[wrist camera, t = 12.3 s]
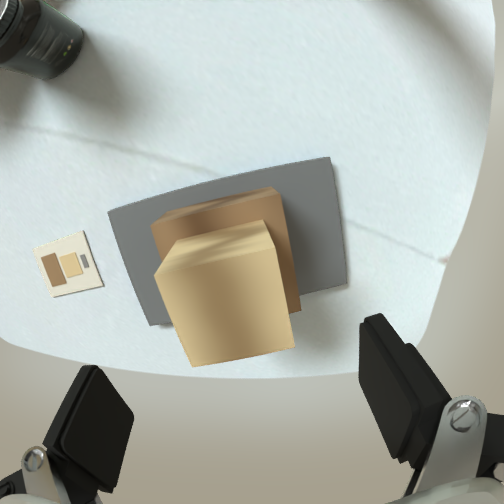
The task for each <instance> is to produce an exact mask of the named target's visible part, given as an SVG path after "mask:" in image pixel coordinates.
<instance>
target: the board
mask: <svg viewBox="0 0 504 504" xmlns="http://www.w3.org/2000/svg"><path fill="white" fill-rule="evenodd" d="M270 186H271V187H272V188H274V189H275V190H276V191H277V192H279V193H280V195H281V200H282V205H283V210H284V215H285V220H286V226H287V231H288V236H289V241H290V247H291V252H292V258H293V263H294V269H295V275H296V280H297V286H298V292H299V295H303V294H307V293H311V292H315V291H319V290H323V289H327V288H331V287H335V286H339V285H342V284H346V283H347V278H346V267H345V257H344V248H343V239H342V231H341V223H340V215H339V208H338V201H337V195H336V188H335V182H334V176H333V171H332V165H331V160H330V157H323V158H317V159H311V160H305V161H300V162H294V163H289V164H284V165H279V166H274V167H269V168H264V169H259V170H255V171H250V172H246V173H241V174H237V175H233V176H228V177H224V178H220V179H216V180H212V181H208V182H204V183H200V184H196V185H193V186H189V187H185V188H182V189H178V190H174V191H171V192H167V193H164V194H160V195H157V196H154V197H150V198H147V199H144V200H140V201H137V202H134V203H131V204H128V205H125V206H122V207H119V208H115V209H113V210H110V211H108V216H109V219H110V222H111V226H112V229H113V232H114V235H115V238H116V241H117V244H118V247H119V250H120V253H121V256H122V258H123V261H124V264H125V267H126V269H127V272H128V275H129V277H130V280H131V282H132V285H133V288H134V290H135V293H136V295H137V297H138V300H139V302H140V305H141V307H142V309H143V312H144V314H145V316H146V319H147V321H148V323H149V325H150V326H153V325H159V324H165V323H171V322H172V321H171V318H170V316H169V313H168V311H167V309H166V306H165V304H164V301H163V298H162V296H161V293H160V291H159V288H158V285H157V283H156V280H155V277H154V274H155V273H156V271H157V270H158V268H159V267H160V265H161V264H162V261H161V258H160V255H159V252H158V249H157V246H156V243H155V239H154V236H153V233H152V230H151V227H150V225H151V224H153V223H154V222H155V221H156V220H157V219H158V218H160V217H161V216H162V215H163V214H164V213H166V212H167V211H171V210H175V209H178V208H182V207H186V206H190V205H194V204H197V203H201V202H205V201H209V200H213V199H217V198H221V197H226V196H230V195H234V194H238V193H243V192H247V191H252V190H256V189H261V188H265V187H270Z"/></svg>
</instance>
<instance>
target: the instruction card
mask: <svg viewBox="0 0 504 504" xmlns="http://www.w3.org/2000/svg"><path fill="white" fill-rule="evenodd" d="M32 250H33V253H34V256H35V258H36V261H37V264H38V266H39V269H40V272H41V274H42V276H43V279H44V281H45V284H46V286H47V288H48V291H49V293H50V295H51V297H55V296H59V295H63V294H68V293H72V292H76V291H81V290H85V289H90V288H94V287H98V286H103V283H102V281H101V278H100V276H99V273H98V270H97V268H96V265H95V263H94V260H93V257H92V254H91V252H90V249H89V246H88V243H87V240H86V237H85V234H84V231H80V232H77V233H74V234H71V235H68V236H66V237H63V238H60V239H57V240H55V241H52V242H49V243H47V244H44V245H42V246H39V247H36V248H34V249H32Z"/></svg>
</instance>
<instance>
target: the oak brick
mask: <svg viewBox="0 0 504 504" xmlns="http://www.w3.org/2000/svg"><path fill="white" fill-rule="evenodd" d="M154 277H155V280H156V283H157V285H158V288H159V291H160V293H161V296H162V298H163V301H164V304H165V306H166V309H167V311H168V313H169V316H170V318H171V321H172V323H173V325H174V328H175V330H176V333H177V335H178V337H179V339H180V342H181V344H182V346H183V348H184V351H185V353H186V355H187V357H188V359H189V361H190V364H191V366H192V367H198V366H204V365H210V364H216V363H222V362H228V361H233V360H239V359H244V358H249V357H254V356H259V355H263V354H268V353H272V352H277V351H281V350H285V349H290V348H294V347H295V345H294V339H293V334H292V329H291V324H290V318H289V313H288V308H287V303H286V298H285V293H284V288H283V283H282V278H281V273H280V268H279V263H278V259H277V254H276V249H275V246H274V244H273V241H272V239H271V237H270V234H269V232H268V230H267V228H266V225H265V223H264V221H263V220H259V221H254V222H250V223H246V224H241V225H237V226H233V227H229V228H225V229H221V230H217V231H212V232H208V233H204V234H200V235H196V236H192V237H188V238H184V239H180V240H177V241H176V242H175V244H174V245H173V247H172V248H171V250H170V251H169V253H168V254H167V256H166V257H165V259H164V260H163V262H162V264H161V265H160V267H159V268H158V270H157V271H156V273H155V274H154Z"/></svg>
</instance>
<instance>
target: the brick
mask: <svg viewBox="0 0 504 504" xmlns="http://www.w3.org/2000/svg"><path fill="white" fill-rule="evenodd" d="M259 220H263V221H264V223H265V225H266V228H267V230H268V232H269V234H270V237H271V239H272V241H273V244H274V246H275V249H276V254H277V259H278V263H279V268H280V273H281V278H282V283H283V288H284V293H285V298H286V303H287V308H288V313H289V314H290V313H294V312H298V311H301V304H300V298H299V292H298V286H297V280H296V275H295V269H294V263H293V258H292V252H291V247H290V241H289V236H288V231H287V226H286V220H285V215H284V210H283V205H282V200H281V195H280V193H279V192H277V191H276V190H275V189H274V188H272V187H271V186H270V187H265V188H261V189H256V190H252V191H247V192H243V193H238V194H234V195H230V196H226V197H221V198H217V199H213V200H209V201H205V202H201V203H197V204H194V205H190V206H186V207H182V208H178V209H175V210H171V211H167V212H166V213H164V214H163V215H162V216H161V217H160V218H158V219H157V220H156V221H155V222H154V223H153V224H151V225H150V227H151V230H152V233H153V236H154V239H155V243H156V246H157V249H158V252H159V255H160V258H161V261H162V262H163V260H164V259H165V257H166V256H167V254H168V253H169V251H170V250H171V248H172V247H173V245H174V244H175V242H176V241H177V240H180V239H184V238H188V237H192V236H196V235H200V234H204V233H208V232H212V231H217V230H221V229H225V228H229V227H233V226H237V225H241V224H246V223H250V222H254V221H259Z"/></svg>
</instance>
